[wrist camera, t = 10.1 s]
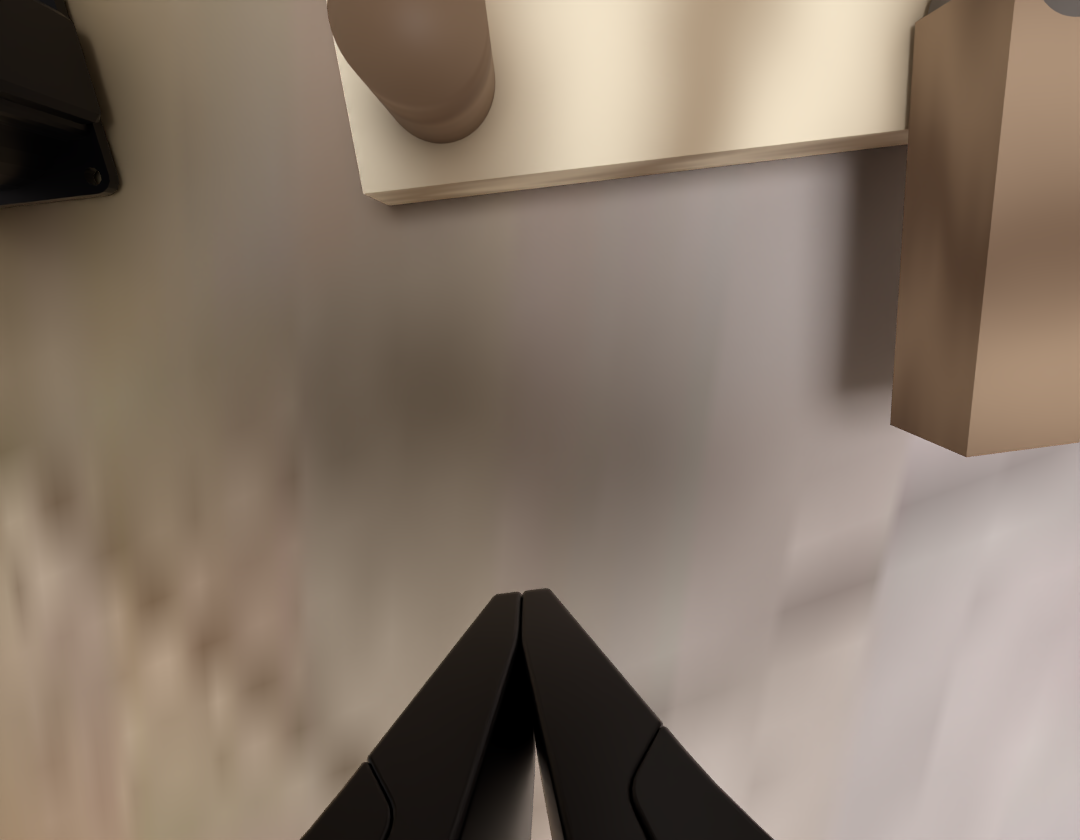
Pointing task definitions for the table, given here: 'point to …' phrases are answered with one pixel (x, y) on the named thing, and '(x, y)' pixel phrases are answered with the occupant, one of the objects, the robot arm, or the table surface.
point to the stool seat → (612, 87)
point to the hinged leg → (991, 229)
